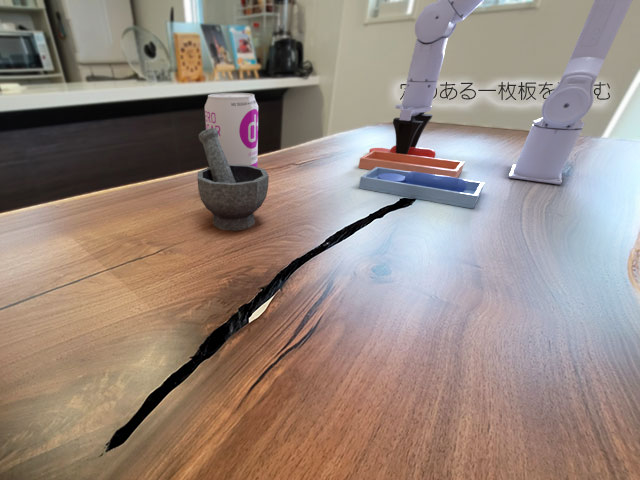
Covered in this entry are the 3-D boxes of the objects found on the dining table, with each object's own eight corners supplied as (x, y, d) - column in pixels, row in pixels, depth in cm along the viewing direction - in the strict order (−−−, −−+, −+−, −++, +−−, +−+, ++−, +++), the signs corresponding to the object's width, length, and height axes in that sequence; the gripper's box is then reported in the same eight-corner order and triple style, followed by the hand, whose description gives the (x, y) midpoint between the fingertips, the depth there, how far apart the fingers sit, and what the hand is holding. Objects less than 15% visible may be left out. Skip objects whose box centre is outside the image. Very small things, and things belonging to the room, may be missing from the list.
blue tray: (374, 177, 70) (376, 166, 68) (480, 194, 61) (485, 182, 60) (358, 188, 64) (360, 176, 63) (472, 208, 55) (477, 196, 54)
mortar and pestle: (280, 223, 51) (285, 132, 45) (230, 242, 47) (227, 143, 40) (230, 203, 59) (228, 122, 52) (182, 218, 54) (173, 130, 47)
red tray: (371, 159, 81) (373, 150, 79) (461, 172, 72) (464, 161, 71) (358, 167, 75) (359, 157, 74) (453, 182, 66) (457, 171, 65)
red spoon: (435, 160, 80) (439, 147, 78) (430, 164, 76) (434, 152, 75) (372, 152, 87) (374, 140, 85) (365, 156, 83) (367, 144, 82)
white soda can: (265, 190, 64) (267, 93, 55) (240, 204, 58) (239, 99, 49) (227, 183, 67) (224, 91, 59) (200, 196, 62) (192, 96, 53)
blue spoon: (465, 191, 60) (471, 176, 59) (460, 199, 57) (466, 183, 56) (381, 178, 67) (384, 164, 66) (372, 184, 64) (375, 169, 63)
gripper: (411, 78, 79) (396, 144, 87) (390, 82, 70) (376, 156, 77) (445, 79, 76) (427, 147, 84) (429, 84, 66) (410, 160, 74)
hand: (405, 152), depth 80 cm, fingers open, 6 cm apart
